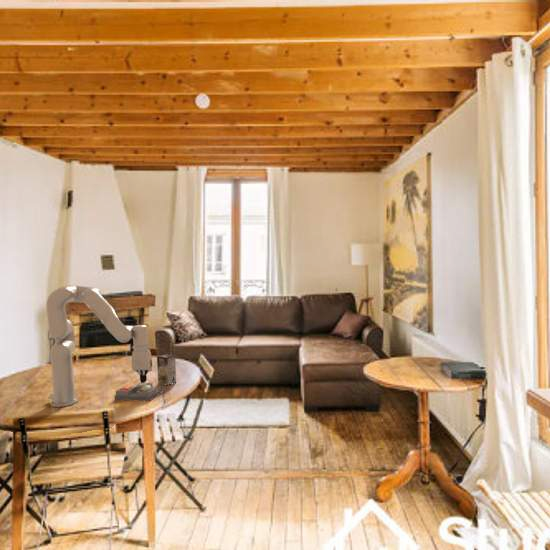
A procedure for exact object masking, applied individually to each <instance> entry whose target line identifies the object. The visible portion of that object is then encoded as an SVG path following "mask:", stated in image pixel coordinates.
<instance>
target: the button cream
mask: <svg viewBox="0 0 550 550" xmlns="http://www.w3.org/2000/svg"><path fill="white" fill-rule="evenodd" d="M148 383H149V381H148V380H146V382H144V383H141V381H140V380H139V381H138V383H137V385H139V386H145V385H148Z"/></svg>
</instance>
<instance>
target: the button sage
mask: <svg viewBox="0 0 550 550" xmlns="http://www.w3.org/2000/svg"><path fill="white" fill-rule="evenodd" d="M141 389H142V391H150V390H151V385H145V386H142V387H141Z"/></svg>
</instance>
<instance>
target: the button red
mask: <svg viewBox="0 0 550 550" xmlns="http://www.w3.org/2000/svg"><path fill="white" fill-rule="evenodd" d="M126 386H127V387H123V386H122V387H120V388H121V390H122V391H128V390H129V389H131V386H128V385H126Z"/></svg>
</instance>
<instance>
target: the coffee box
mask: <svg viewBox="0 0 550 550" xmlns="http://www.w3.org/2000/svg"><path fill="white" fill-rule="evenodd" d="M156 365H157V366H156V367H157V382H158V384H159V383H162V384H161V385H163V384H166V385H165V386H167V385H169V384H172V383H174V384H176V383H177V370H176V356H175V355H173V354H166V353H164V354H160V355H157V356H156ZM175 382H176V383H175ZM172 385H173V384H172ZM169 386H170V385H169Z"/></svg>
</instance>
